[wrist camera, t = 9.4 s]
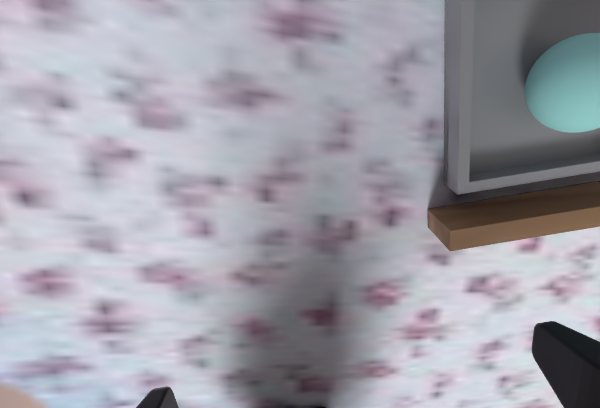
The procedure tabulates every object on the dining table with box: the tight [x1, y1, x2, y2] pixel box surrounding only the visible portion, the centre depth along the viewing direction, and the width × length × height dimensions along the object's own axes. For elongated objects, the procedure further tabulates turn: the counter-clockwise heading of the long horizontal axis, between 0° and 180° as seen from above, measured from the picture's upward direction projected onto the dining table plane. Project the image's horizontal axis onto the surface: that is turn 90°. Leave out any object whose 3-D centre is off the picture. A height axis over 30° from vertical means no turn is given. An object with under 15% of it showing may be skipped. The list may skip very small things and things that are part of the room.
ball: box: [525, 33, 600, 133], centre depth 17 cm, size 4×4×4 cm
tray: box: [444, 0, 600, 194], centre depth 19 cm, size 10×10×2 cm
